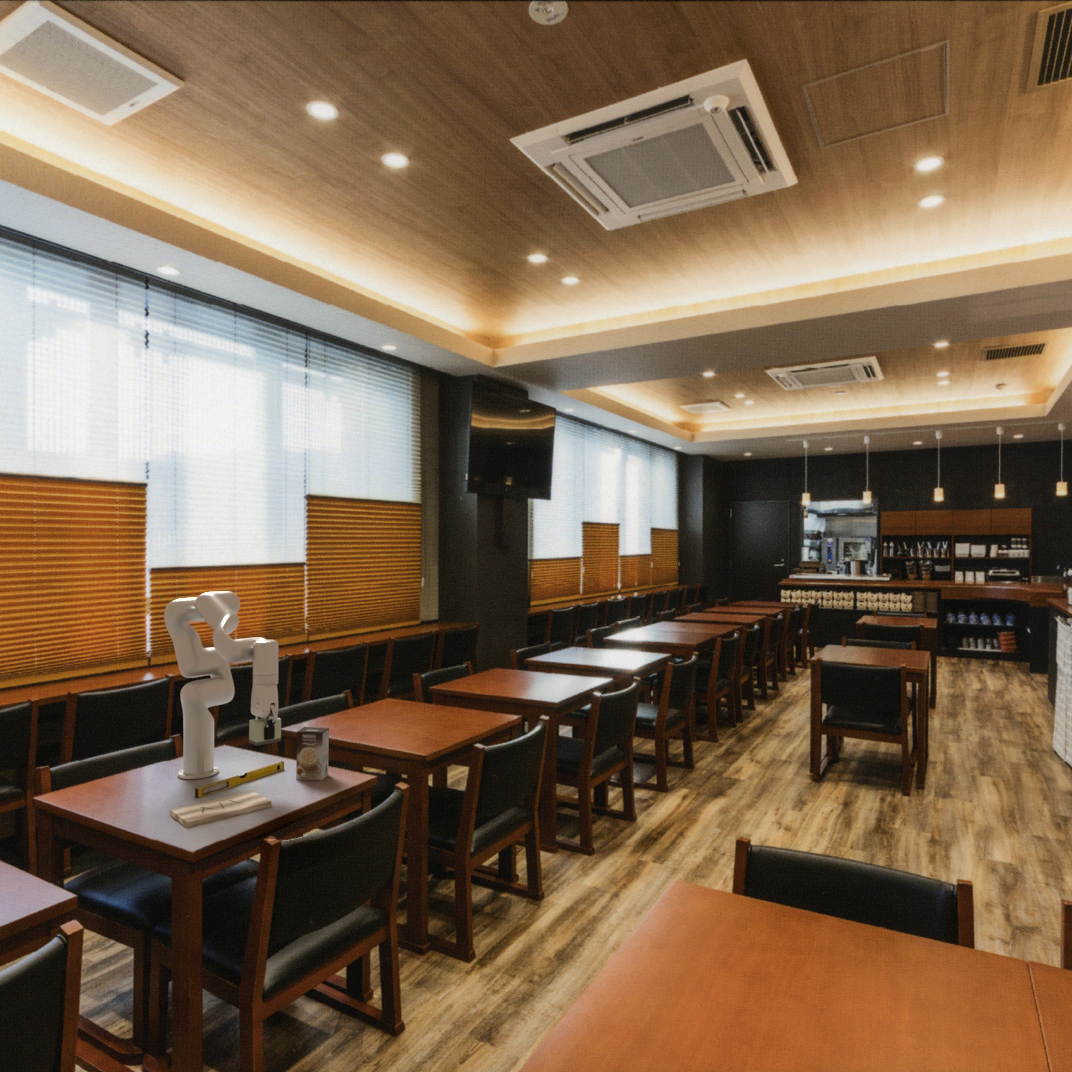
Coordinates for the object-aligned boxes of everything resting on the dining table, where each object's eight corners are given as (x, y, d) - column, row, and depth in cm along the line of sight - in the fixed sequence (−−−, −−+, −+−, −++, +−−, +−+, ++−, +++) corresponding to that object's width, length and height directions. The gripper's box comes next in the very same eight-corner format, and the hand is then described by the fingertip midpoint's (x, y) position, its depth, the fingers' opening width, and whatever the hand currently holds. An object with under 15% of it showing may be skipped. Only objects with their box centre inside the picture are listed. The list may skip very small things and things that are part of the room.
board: (170, 815, 211) (170, 809, 211) (252, 795, 228) (252, 790, 228) (186, 827, 201) (186, 822, 201) (271, 806, 218) (271, 801, 218)
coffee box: (295, 779, 243) (295, 731, 243) (303, 774, 249) (303, 726, 250) (321, 780, 242) (322, 732, 242) (329, 774, 249) (329, 727, 249)
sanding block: (249, 742, 230) (249, 720, 230) (273, 738, 235) (273, 716, 235) (256, 745, 226) (256, 723, 226) (280, 740, 232) (281, 718, 232)
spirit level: (281, 769, 255) (281, 761, 255) (283, 770, 255) (284, 761, 255) (194, 798, 226) (195, 788, 226) (197, 798, 226) (197, 789, 226)
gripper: (242, 677, 234) (241, 734, 234) (266, 684, 222) (265, 745, 222) (264, 674, 240) (264, 730, 239) (289, 681, 228) (289, 740, 227)
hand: (265, 736), depth 231 cm, fingers closed on sanding block, 5 cm apart
